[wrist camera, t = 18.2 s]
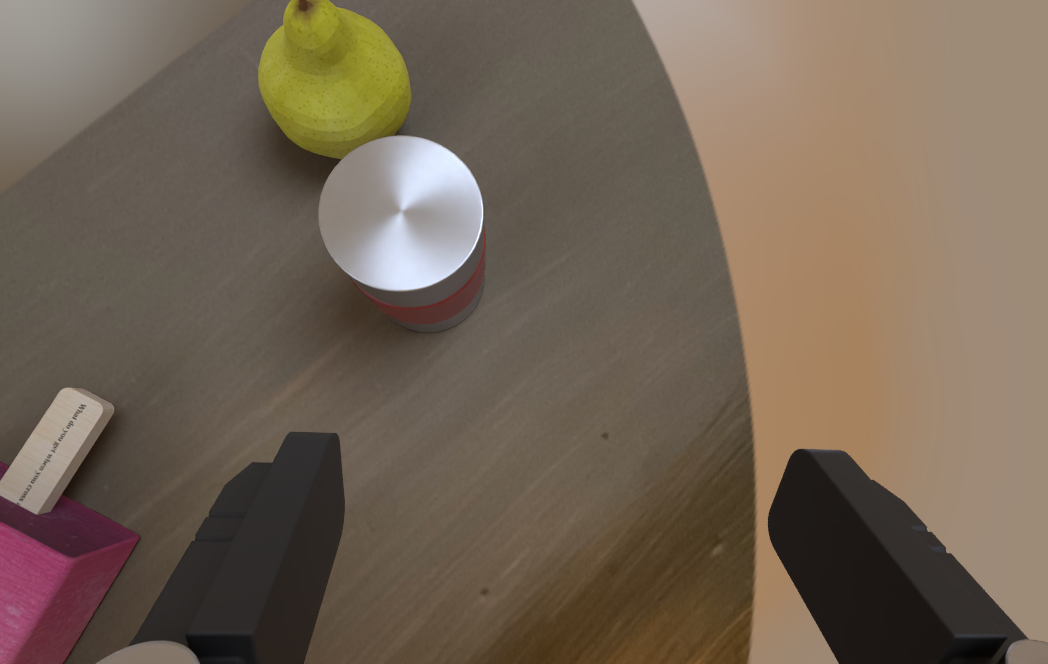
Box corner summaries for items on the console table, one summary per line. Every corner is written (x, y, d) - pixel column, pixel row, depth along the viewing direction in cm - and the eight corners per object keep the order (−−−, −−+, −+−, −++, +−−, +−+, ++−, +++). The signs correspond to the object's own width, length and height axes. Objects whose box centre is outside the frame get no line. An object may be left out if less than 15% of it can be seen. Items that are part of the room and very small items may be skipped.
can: (500, 244, 31) (507, 164, 21) (463, 349, 30) (453, 316, 20) (395, 209, 31) (352, 111, 21) (355, 312, 30) (290, 261, 20)
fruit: (349, 207, 31) (262, 75, 19) (264, 121, 31) (126, -62, 19) (440, 126, 32) (414, -47, 20) (357, 44, 32) (282, -174, 20)
